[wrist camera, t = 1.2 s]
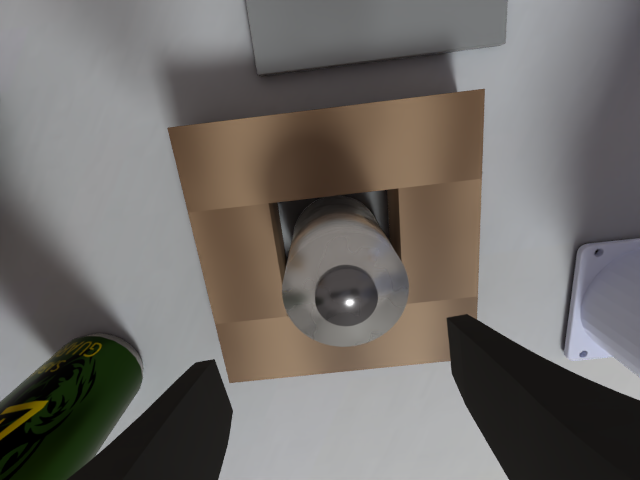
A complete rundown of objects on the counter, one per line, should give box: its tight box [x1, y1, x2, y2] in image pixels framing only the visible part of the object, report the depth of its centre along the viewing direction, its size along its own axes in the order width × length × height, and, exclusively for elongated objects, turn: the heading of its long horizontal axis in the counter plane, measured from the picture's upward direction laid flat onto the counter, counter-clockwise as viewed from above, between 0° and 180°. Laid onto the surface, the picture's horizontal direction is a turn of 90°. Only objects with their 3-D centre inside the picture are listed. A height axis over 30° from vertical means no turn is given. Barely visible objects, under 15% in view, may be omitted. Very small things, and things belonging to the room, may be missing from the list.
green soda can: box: [0, 333, 143, 480], centre depth 17 cm, size 5×5×12 cm
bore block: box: [168, 89, 485, 383], centre depth 19 cm, size 14×14×3 cm
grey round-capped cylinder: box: [282, 195, 409, 347], centre depth 17 cm, size 5×5×8 cm
